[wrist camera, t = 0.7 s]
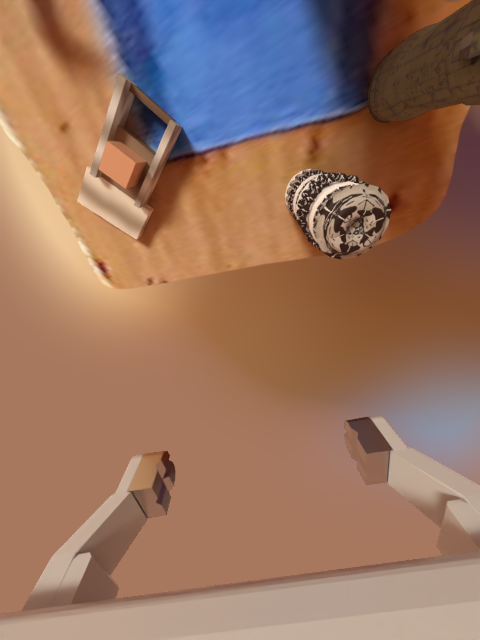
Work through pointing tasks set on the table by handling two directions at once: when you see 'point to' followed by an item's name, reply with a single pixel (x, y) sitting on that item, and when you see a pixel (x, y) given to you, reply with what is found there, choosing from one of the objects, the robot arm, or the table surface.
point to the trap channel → (131, 203)
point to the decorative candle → (338, 211)
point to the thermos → (430, 69)
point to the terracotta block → (122, 164)
